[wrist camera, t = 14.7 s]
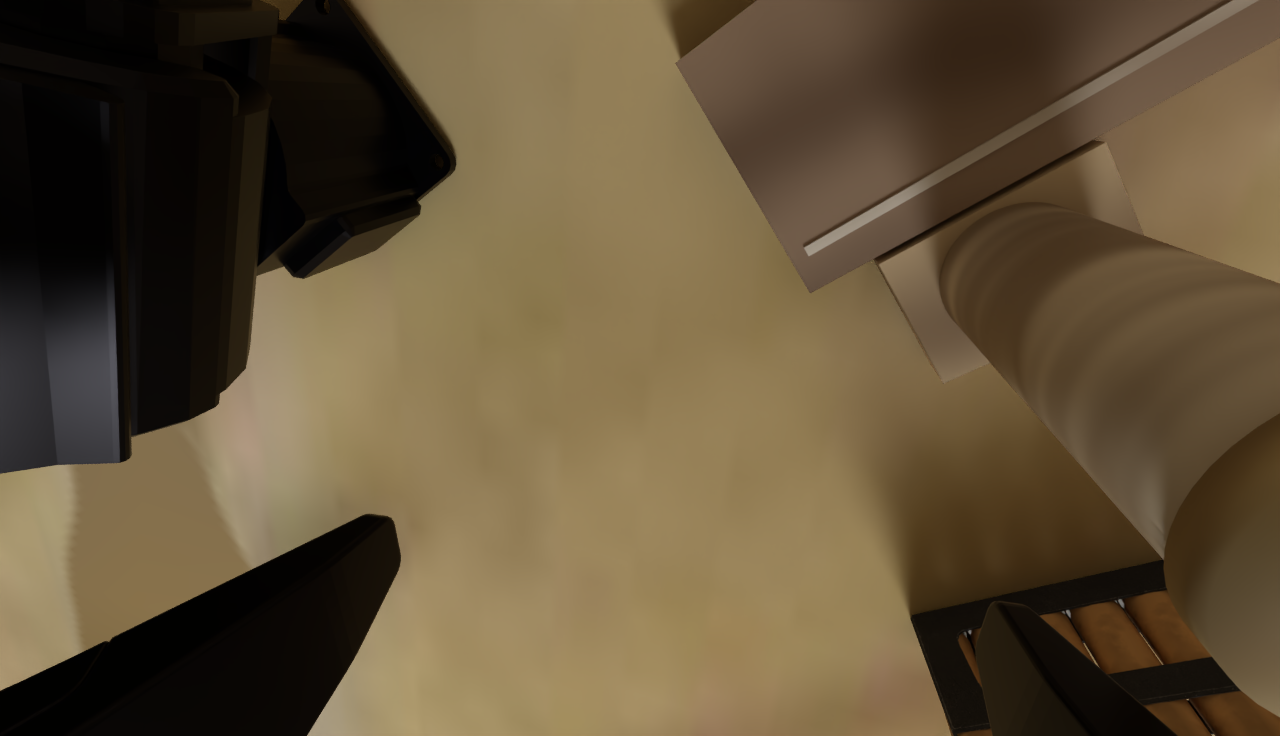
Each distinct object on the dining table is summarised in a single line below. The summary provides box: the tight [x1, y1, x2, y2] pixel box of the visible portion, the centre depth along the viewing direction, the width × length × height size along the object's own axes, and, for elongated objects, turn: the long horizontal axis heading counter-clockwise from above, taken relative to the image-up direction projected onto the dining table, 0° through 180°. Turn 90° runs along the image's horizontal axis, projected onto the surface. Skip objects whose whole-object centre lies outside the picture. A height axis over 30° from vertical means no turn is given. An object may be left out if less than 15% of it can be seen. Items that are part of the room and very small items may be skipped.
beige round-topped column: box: [874, 140, 1280, 717], centre depth 12 cm, size 5×6×14 cm
